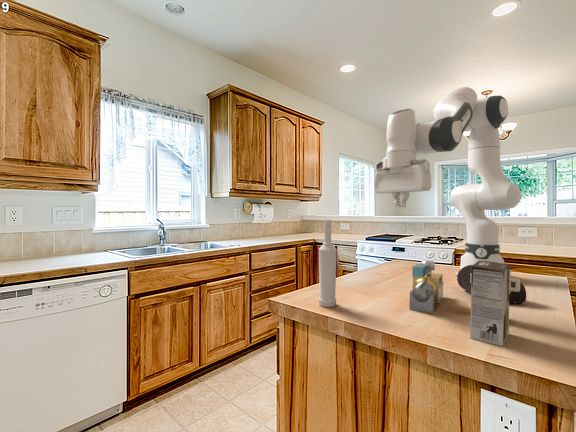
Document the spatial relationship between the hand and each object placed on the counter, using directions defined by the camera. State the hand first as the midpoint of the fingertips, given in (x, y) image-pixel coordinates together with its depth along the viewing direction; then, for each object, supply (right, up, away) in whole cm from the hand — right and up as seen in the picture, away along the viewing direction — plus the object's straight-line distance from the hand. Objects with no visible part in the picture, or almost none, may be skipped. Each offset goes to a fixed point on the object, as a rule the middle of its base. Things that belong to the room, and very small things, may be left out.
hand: (400, 207), depth 95 cm
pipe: (+30, -29, +3) cm, 42 cm away
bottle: (-23, -29, -5) cm, 38 cm away
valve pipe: (+7, -29, -3) cm, 30 cm away
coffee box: (+10, -30, -27) cm, 41 cm away
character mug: (+18, -30, -16) cm, 38 cm away
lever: (+4, -19, -7) cm, 21 cm away
